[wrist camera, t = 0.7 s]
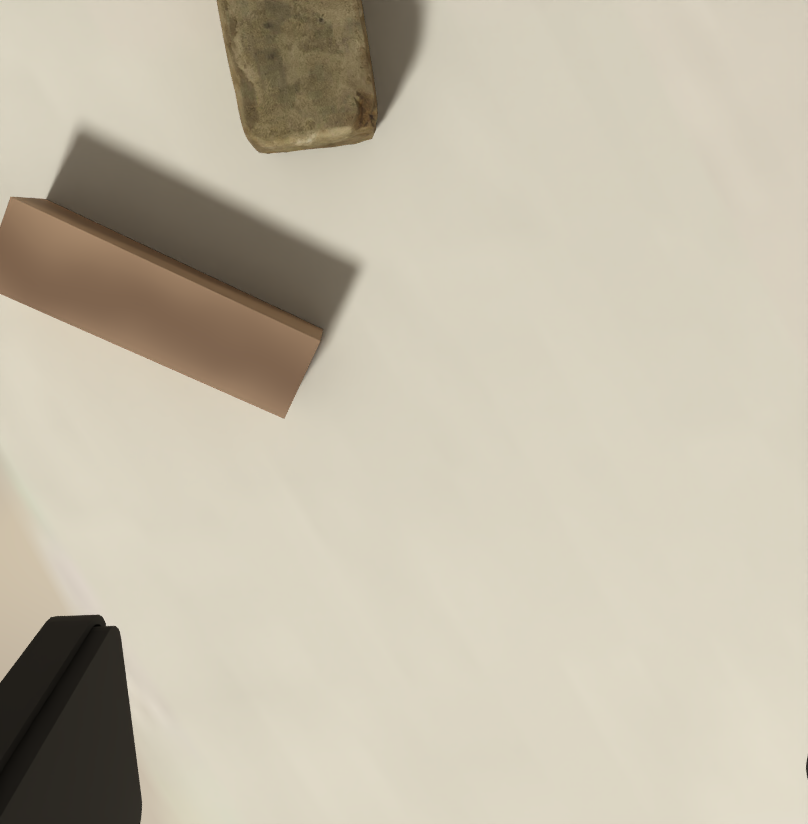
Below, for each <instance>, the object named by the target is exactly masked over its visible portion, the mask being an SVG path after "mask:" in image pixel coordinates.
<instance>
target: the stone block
mask: <svg viewBox="0 0 808 824" xmlns="http://www.w3.org/2000/svg"><path fill="white" fill-rule="evenodd" d="M217 5H218V11H219V16H220V21H221V27H222V32H223V38H224V43H225V48H226V53H227V58H228V63H229V68H230V72H231V77H232V81H233V85H234V89H235V93H236V99H237V104H238V109H239V114H240V119H241V123H242V126H243V130H244V133H245V135H246V137H247V139H248V140H249V142H250V143H251V144H252V146H253V147H254V148H255V149H256V150H257V151H258V152H259V153H267V154H269V153H280V152H291V151H298V150H306V149H315V148H328V147H337V146H342V145H348V144H356V143H360V142H362V141H365V140H369V139H372V137H373V135H374V133H375V130H376V121H377V118H378V112H377V99H376V90H375V83H374V76H373V69H372V63H371V57H370V51H369V44H368V37H367V31H366V25H365V19H364V13H363V7H362V1H361V0H217Z"/></svg>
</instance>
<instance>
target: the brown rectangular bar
mask: <svg viewBox="0 0 808 824" xmlns="http://www.w3.org/2000/svg"><path fill="white" fill-rule="evenodd" d="M0 294H2V295H4V296H7V297H9V298H11V299H13V300H16V301H18V302H20V303H22V304H25V305H27V306H29V307H32V308H34V309H36V310H38V311H41V312H43V313H45V314H47V315H50V316H52V317H54V318H57V319H59V320H61V321H63V322H66V323H68V324H70V325H72V326H75V327H77V328H79V329H82V330H84V331H86V332H88V333H91V334H93V335H95V336H97V337H100V338H102V339H104V340H107V341H109V342H111V343H113V344H116V345H118V346H120V347H122V348H125V349H127V350H129V351H132V352H134V353H136V354H138V355H141V356H143V357H145V358H147V359H150V360H152V361H154V362H157V363H159V364H161V365H163V366H166V367H168V368H170V369H172V370H175V371H177V372H179V373H182V374H184V375H186V376H188V377H191V378H193V379H195V380H197V381H200V382H202V383H204V384H207V385H209V386H211V387H213V388H216V389H218V390H220V391H222V392H225V393H227V394H229V395H232V396H234V397H236V398H238V399H241V400H243V401H245V402H247V403H250V404H252V405H254V406H257V407H259V408H261V409H263V410H266V411H268V412H270V413H272V414H275V415H277V416H279V417H281V418H285V416H286V414H287V412H288V410H289V407H290V405H291V403H292V401H293V399H294V397H295V395H296V392H297V390H298V388H299V386H300V384H301V382H302V380H303V377H304V375H305V373H306V371H307V369H308V367H309V364H310V362H311V360H312V358H313V356H314V354H315V352H316V349H317V347H318V345H319V343H320V341H321V337H322V333H323V329H321V328H319V327H317V326H315V325H313V324H311V323H309V322H307V321H304V320H302V319H300V318H298V317H296V316H294V315H292V314H290V313H287V312H285V311H283V310H281V309H279V308H277V307H275V306H272V305H270V304H268V303H266V302H264V301H262V300H260V299H258V298H255V297H253V296H251V295H249V294H247V293H245V292H243V291H241V290H238V289H236V288H234V287H232V286H230V285H228V284H226V283H223V282H221V281H219V280H217V279H215V278H213V277H211V276H209V275H206V274H204V273H202V272H200V271H198V270H196V269H194V268H191V267H189V266H187V265H185V264H183V263H181V262H179V261H177V260H174V259H172V258H170V257H168V256H166V255H164V254H162V253H160V252H157V251H155V250H153V249H151V248H149V247H147V246H145V245H142V244H140V243H138V242H136V241H134V240H132V239H130V238H128V237H125V236H123V235H121V234H119V233H117V232H115V231H113V230H111V229H108V228H106V227H104V226H102V225H100V224H98V223H96V222H93V221H91V220H89V219H87V218H85V217H83V216H81V215H79V214H76V213H74V212H72V211H70V210H68V209H66V208H64V207H62V206H59V205H57V204H55V203H53V202H51V201H49V200H47V199H37V198H21V197H10V200H9V203H8V206H7V209H6V212H5V215H4V217H3V220H2V223H1V226H0Z"/></svg>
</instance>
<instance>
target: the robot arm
mask: <svg viewBox="0 0 808 824" xmlns="http://www.w3.org/2000/svg"><path fill="white" fill-rule="evenodd" d="M806 772H807V778H808V757H807V763H806ZM141 811H142V799H141V790H140V782H139V774H138V767H137V759H136V751H135V743H134V735H133V728H132V720H131V712H130V704H129V696H128V689H127V681H126V673H125V665H124V657H123V650H122V642H121V636H120V631H119V629H118V628H117V627H116V626H106V623H105V621H104V619H103V617H102V616H100V615H79V616H55V617H51V618H50V619H49V620H48V621H47V622H46V623H45V624H44V625H43V627H42V628H41V630H40V631H39V632H38V633H37V635H36V636H35V637H34V639H33V640H32V641H31V643H30V644H29V645H28V647H27V648H26V649H25V651H24V652H23V653H22V655H21V656H20V658H19V659H18V660H17V662H16V663H15V664H14V666H13V667H12V668H11V669H10V671H9V672H8V673H7V675H6V676H5V677H4V679H3V680H2V681H1V683H0V824H140V821H141V813H142V812H141Z"/></svg>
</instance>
